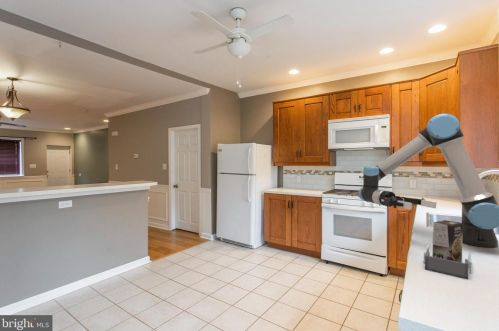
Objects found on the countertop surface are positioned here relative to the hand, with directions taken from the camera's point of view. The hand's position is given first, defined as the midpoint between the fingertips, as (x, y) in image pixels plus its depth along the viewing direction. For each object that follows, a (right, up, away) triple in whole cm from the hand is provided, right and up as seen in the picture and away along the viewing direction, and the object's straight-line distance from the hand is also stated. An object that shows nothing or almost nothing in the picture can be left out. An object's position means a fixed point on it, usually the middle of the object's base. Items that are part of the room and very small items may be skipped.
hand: (423, 205), depth 109 cm
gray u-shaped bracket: (+2, -21, -11) cm, 24 cm away
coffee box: (+3, -21, -9) cm, 23 cm away
